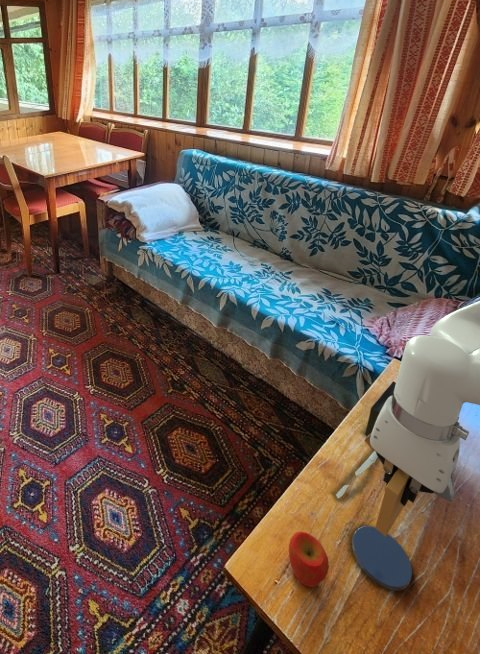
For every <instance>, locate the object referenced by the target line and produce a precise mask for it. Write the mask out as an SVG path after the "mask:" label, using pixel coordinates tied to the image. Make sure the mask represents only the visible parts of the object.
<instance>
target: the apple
mask: <svg viewBox="0 0 480 654" xmlns="http://www.w3.org/2000/svg"><path fill="white" fill-rule="evenodd" d="M288 554H289V561H290V567H291V570H292V572H293V574H294V576H295V577H296V579H297V580H298V581H299V583H300V584H302V585H303V586H305V587H308V588H309V587H310V588H312V587H315V586H318V585H319V584H321V583H322V582H323V581H324V580H325V579H326V577H327V576H328V573H329V568H330V563H329V557H328V554H327V553H326V550H325V549H324V546H323V544H322V542H320V541H319V540H318V539H317V538H316V537H315V536H314V535H312V534H311V533H308V532H306V531H301V530H299V531H297V532H295V533H293V535H292V536H291V538H290V540H289V544H288Z"/></svg>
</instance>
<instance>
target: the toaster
mask: <svg viewBox="0 0 480 654" xmlns="http://www.w3.org/2000/svg"><path fill="white" fill-rule="evenodd" d="M395 385H396V381H392V382H391V383H390V384H389V385H388V386H387V388H386V389H385V390H384V391H383V392H382V394H381V395H380V396H379V397H378V399H376V401H375V402H374V404H373V405H372V406H371V407H370V411H369V416H368V420H367V424H366V429H365V433H364V434H365V436H366V437H367V436H368V435H369V434H371V433H372V431H373V428H374V425H375V423H376V420H377V418H378V415H379V413H380V411H381V409H382V407H383V406H384V404H385V402H386V400H387V399H388V398H389V397H390V396H393V392H394V389H395Z"/></svg>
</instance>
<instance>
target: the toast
mask: <svg viewBox="0 0 480 654" xmlns="http://www.w3.org/2000/svg"><path fill="white" fill-rule="evenodd" d="M410 478H411V476H410V475H408V474H407V473H405V472H404V471H403V470H401V469H400V468H398V469H397V471H396V472H395V474H394V475H393V477H392V478H391V480H390V482H389V483H388V485H387V486H386V485H385V488H386V489H385V488H384V494H383V497H382V501H381V505H380V508H379V512H378V516H377V518H376V522H375V526H374V527H375V528H376V529H377V530H378V531H379V532H381V533H382V534H383V535H384V536H385V537H386V536H387V534H388V535H389V532H390V530H391V529H392V527H393V526H394V524H395V522H396V520H397V519H398V517H399V516H400V514H401V512H402V510H403V509H404V507H405V506H404V505H402V504H401V498H402V495H403V492H404V488H405V486H406V485H407V483H408V482H409V480H410Z"/></svg>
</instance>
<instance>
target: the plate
mask: <svg viewBox="0 0 480 654" xmlns="http://www.w3.org/2000/svg"><path fill="white" fill-rule="evenodd" d="M351 549H352V552H353V556H354V558H355V560H356V563H357V564H358V566H359V567H360V569H361V570H362V571H363V572H364V573H365V574H366V576H367V577H368V578H369V579H371V580H372V581H373V582H374V583H376V584H377V585H379V586H381V587H382V588H384V589H386V590H389V591H395V592H397V591H399V592H400V591H404V590H405V589H407V588H408V586H410V583H411V580H412V577H413V569H412V565H411V561H410V559H409V557H408V555H407V553H406V552H405V550H404V548H403V547H402V546H401V545H400V543H399V542H398V541H397V540H396V539H395V538H394V537H392V536H391V535H390V534H389V533H388V534H387V536H386V537H385V536H384V535H383V534H382V533H381V532H379V531H378V530H377V529H376V528H375V526H370V525H364V526H361V527H358V528H357V529H356V530H355V531H354V533H353V536H352V541H351Z"/></svg>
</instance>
